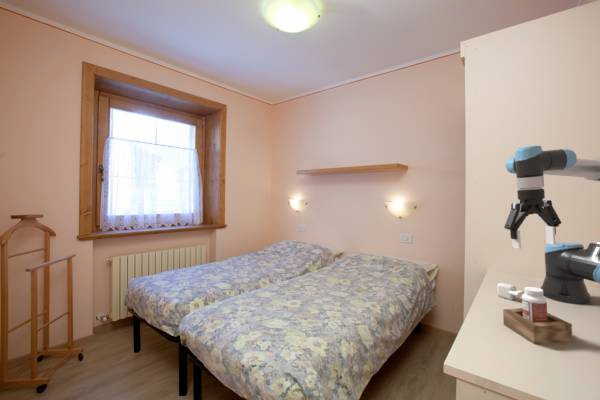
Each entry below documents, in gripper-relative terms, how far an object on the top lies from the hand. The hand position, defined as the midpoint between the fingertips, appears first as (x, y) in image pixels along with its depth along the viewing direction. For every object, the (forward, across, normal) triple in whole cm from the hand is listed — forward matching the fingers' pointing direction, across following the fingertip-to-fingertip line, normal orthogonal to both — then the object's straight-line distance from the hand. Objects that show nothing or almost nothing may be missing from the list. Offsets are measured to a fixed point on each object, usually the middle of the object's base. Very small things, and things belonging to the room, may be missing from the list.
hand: (534, 245), depth 98 cm
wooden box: (+26, +12, +10) cm, 30 cm away
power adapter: (+27, -3, -14) cm, 30 cm away
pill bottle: (+22, +12, +10) cm, 27 cm away
